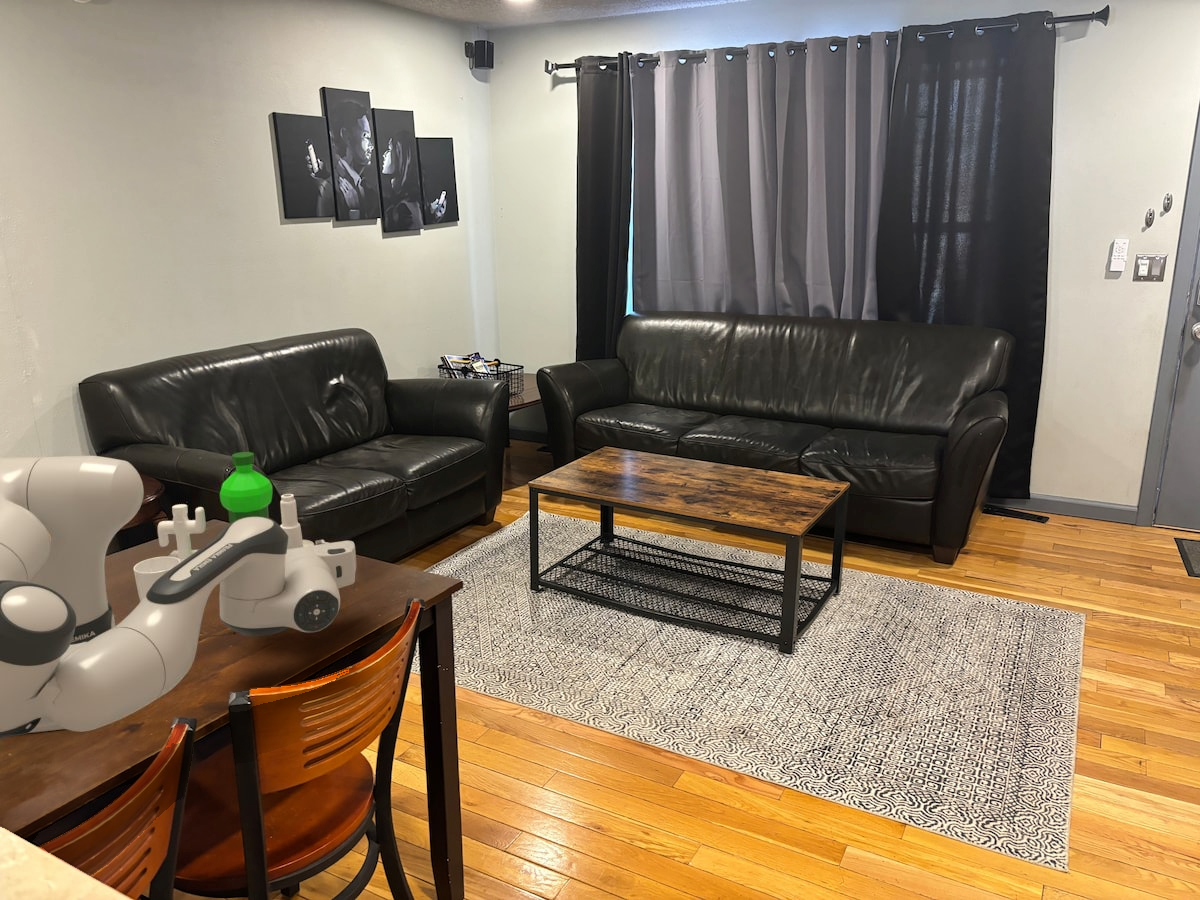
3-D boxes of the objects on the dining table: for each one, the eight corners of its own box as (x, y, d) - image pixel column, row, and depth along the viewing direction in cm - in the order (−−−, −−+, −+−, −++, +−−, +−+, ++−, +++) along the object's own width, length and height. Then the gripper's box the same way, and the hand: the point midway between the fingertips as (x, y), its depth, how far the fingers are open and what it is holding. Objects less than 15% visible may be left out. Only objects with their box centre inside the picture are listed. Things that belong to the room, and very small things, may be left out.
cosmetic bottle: (288, 595, 170) (278, 489, 164) (318, 597, 169) (309, 491, 163) (274, 609, 164) (264, 499, 158) (305, 610, 163) (296, 501, 157)
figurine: (170, 566, 184) (161, 500, 180) (216, 565, 185) (208, 499, 181) (157, 580, 177) (148, 511, 173) (205, 578, 178) (197, 510, 174)
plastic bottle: (289, 560, 188) (279, 450, 181) (257, 579, 178) (245, 463, 172) (251, 554, 191) (240, 446, 184) (217, 572, 181) (204, 459, 174)
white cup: (168, 625, 158) (161, 574, 156) (130, 620, 160) (123, 570, 157) (195, 606, 166) (189, 558, 163) (159, 602, 167) (153, 554, 165)
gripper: (240, 602, 145) (234, 572, 157) (363, 581, 153) (349, 555, 165) (236, 567, 143) (231, 540, 155) (361, 548, 152) (347, 524, 164)
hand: (293, 547), depth 160 cm, fingers open, 8 cm apart
